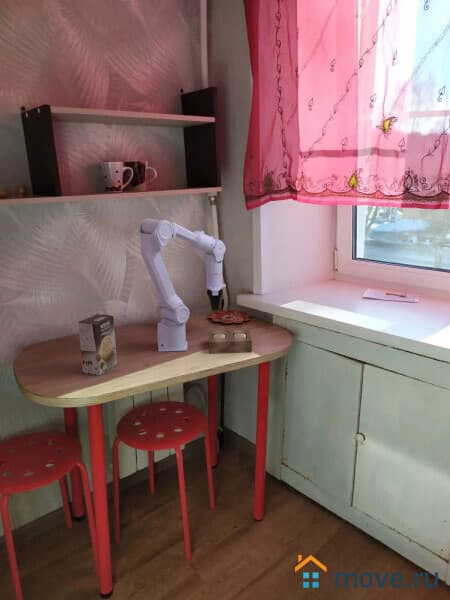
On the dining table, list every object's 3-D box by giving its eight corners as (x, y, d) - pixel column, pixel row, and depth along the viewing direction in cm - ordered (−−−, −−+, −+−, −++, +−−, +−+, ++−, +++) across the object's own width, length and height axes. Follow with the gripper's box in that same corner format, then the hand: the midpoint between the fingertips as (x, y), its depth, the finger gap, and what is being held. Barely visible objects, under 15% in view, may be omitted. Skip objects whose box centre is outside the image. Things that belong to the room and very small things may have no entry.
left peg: (213, 347, 156) (213, 338, 155) (213, 343, 160) (213, 333, 159) (225, 347, 156) (225, 337, 155) (225, 343, 160) (224, 333, 159)
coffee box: (100, 376, 137) (95, 324, 132) (82, 373, 139) (77, 322, 135) (117, 364, 145) (113, 315, 141) (100, 361, 147) (96, 313, 143)
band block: (209, 353, 153) (209, 342, 152) (209, 341, 163) (208, 330, 162) (251, 352, 153) (251, 340, 152) (248, 340, 164) (248, 329, 163)
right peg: (234, 347, 156) (234, 337, 155) (233, 342, 160) (233, 333, 159) (246, 346, 156) (246, 337, 155) (245, 342, 160) (245, 333, 159)
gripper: (226, 277, 157) (227, 315, 161) (224, 268, 171) (225, 303, 175) (205, 277, 157) (206, 315, 161) (205, 268, 171) (206, 304, 175)
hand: (215, 309), depth 168 cm, fingers closed
